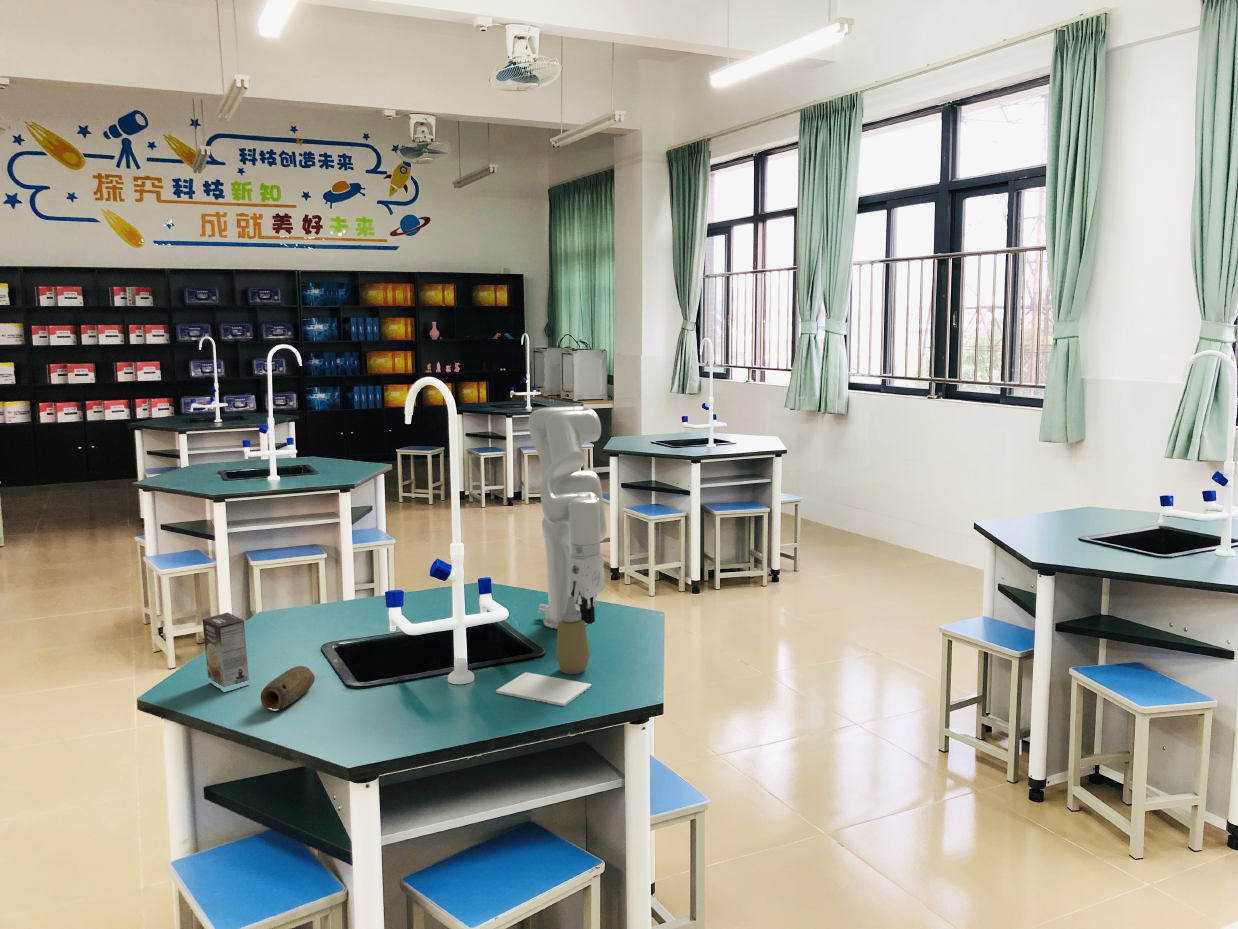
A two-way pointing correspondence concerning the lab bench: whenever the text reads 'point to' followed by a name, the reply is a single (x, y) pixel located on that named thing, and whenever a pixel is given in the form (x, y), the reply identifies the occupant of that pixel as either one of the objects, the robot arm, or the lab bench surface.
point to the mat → (544, 688)
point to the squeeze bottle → (572, 641)
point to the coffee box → (225, 649)
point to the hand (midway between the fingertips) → (587, 622)
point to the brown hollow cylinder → (287, 687)
